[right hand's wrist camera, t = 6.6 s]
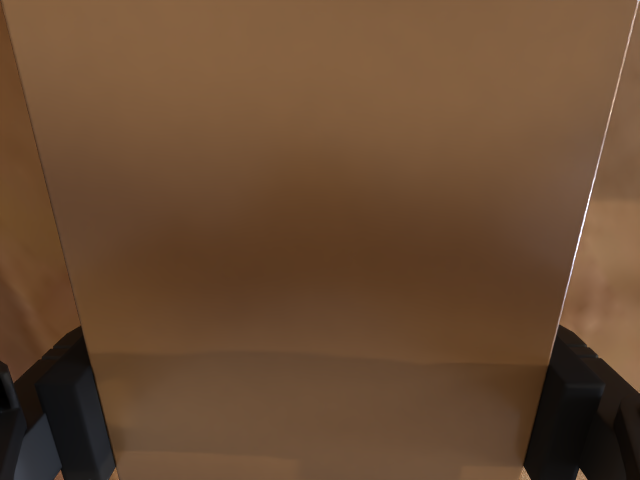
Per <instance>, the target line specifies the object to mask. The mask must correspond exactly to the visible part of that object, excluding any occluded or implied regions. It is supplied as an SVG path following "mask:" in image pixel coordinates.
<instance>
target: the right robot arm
mask: <svg viewBox="0 0 640 480" xmlns="http://www.w3.org/2000/svg"><path fill="white" fill-rule="evenodd" d="M523 466H524V468H525V469H526V471H527V473H528V475H529V477H530V478H531V480H576V477H577V474H578V471H579V468H580V469H581V471H582V472H583V474H584V475H585V476H586V478H587V479H588V480H640V393H638V392H637V391H636V390H635V389H634V388H633V387H632V386H631V385H630V384H628V383H627V382H626V381H625V380H624V379H623V378H622V377H621V376H620V375H619V374H618V373H617V372H616V371H614V370H613V369H612V368H611V367H610V366H609V365H608V364H607V363H606V362H605V361H604V360H603V359H602V358H598V355H597V354H596V353H595V352H594V351H593V350H592V349H591V348H590V347H587V345H586V344H585V343H584V342H583V341H582V340H581V339H580V338H579V337H578V336H577V335H576V334H575V333H573V332H572V331H570V330H568V329H566V328H565V327H563V326H561V325H558V329H557V333H556V337H555V341H554V345H553V349H552V353H551V357H550V361H549V365H548V369H547V373H546V377H545V381H544V385H543V389H542V393H541V397H540V401H539V405H538V409H537V413H536V417H535V421H534V425H533V429H532V433H531V437H530V441H529V445H528V449H527V453H526V457H525V461H524V465H523ZM115 467H116V464H115V460H114V456H113V452H112V448H111V444H110V440H109V436H108V432H107V428H106V424H105V420H104V416H103V412H102V408H101V404H100V400H99V396H98V392H97V388H96V384H95V380H94V376H93V372H92V367H91V363H90V359H89V355H88V351H87V347H86V343H85V339H84V335H83V331H82V327H81V326H80V327H78V328H76V329H74V330H72V331H71V332H69V333H67V334H66V335H65V336H64V337H63V338H62V339H61V340H60V341H58V342H57V343H56V344H55V345H54V346H53V349H50V350H49V351H48V352H47V353H46V354H45V355H43V356H42V359H41V360H38V361H37V362H36V363H35V364H34V365H33V366H32V367H31V368H30V369H28V370H27V371H26V372H25V373H24V374H23V375H22V376H21V377H20V378H19V379H18V380H17V381H16V382H15V383H13V381H12V378H11V375H10V372H9V369H8V366H7V365H6V364H5V363H3V362H1V361H0V480H54V478H55V477H56V475H57V474H58V472H59V471H60V470H61V472H62V475H63V478H64V480H109V478H110V476H111V474H112V473H113V471H114V469H115Z"/></svg>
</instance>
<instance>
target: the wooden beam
mask: <svg viewBox="0 0 640 480" xmlns="http://www.w3.org/2000/svg"><path fill="white" fill-rule="evenodd" d="M639 1H640V0H1V4H2V8H3V12H4V16H5V20H6V24H7V28H8V32H9V37H10V41H11V45H12V49H13V53H14V57H15V61H16V65H17V69H18V73H19V77H20V81H21V85H22V89H23V93H24V97H25V101H26V105H27V109H28V113H29V117H30V121H31V125H32V129H33V133H34V137H35V141H36V145H37V150H38V154H39V158H40V162H41V166H42V170H43V174H44V178H45V182H46V186H47V190H48V194H49V198H50V202H51V206H52V210H53V214H54V218H55V222H56V226H57V230H58V234H59V238H60V242H61V246H62V250H63V254H64V258H65V263H66V267H67V271H68V275H69V279H70V283H71V287H72V291H73V295H74V299H75V303H76V307H77V311H78V315H79V319H80V323H81V327H82V331H83V335H84V339H85V343H86V347H87V351H88V355H89V359H90V363H91V367H92V372H93V376H94V380H95V384H96V388H97V392H98V396H99V400H100V404H101V408H102V412H103V416H104V420H105V424H106V428H107V432H108V436H109V440H110V444H111V448H112V452H113V456H114V460H115V464H116V468H117V472H118V476H119V480H520V477H521V473H522V469H523V465H524V461H525V457H526V453H527V449H528V445H529V441H530V437H531V433H532V429H533V425H534V421H535V417H536V413H537V409H538V405H539V401H540V397H541V393H542V389H543V385H544V381H545V377H546V373H547V369H548V365H549V361H550V357H551V353H552V349H553V345H554V341H555V337H556V333H557V329H558V325H559V321H560V317H561V313H562V309H563V305H564V301H565V297H566V293H567V289H568V285H569V281H570V277H571V273H572V269H573V265H574V261H575V257H576V253H577V249H578V245H579V241H580V237H581V233H582V229H583V225H584V221H585V217H586V213H587V209H588V205H589V201H590V197H591V193H592V189H593V185H594V181H595V177H596V173H597V169H598V165H599V161H600V157H601V153H602V149H603V145H604V141H605V137H606V133H607V129H608V125H609V121H610V117H611V113H612V109H613V105H614V101H615V97H616V93H617V89H618V85H619V81H620V77H621V73H622V69H623V65H624V61H625V57H626V53H627V49H628V45H629V41H630V37H631V33H632V29H633V25H634V21H635V17H636V13H637V9H638V5H639Z"/></svg>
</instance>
